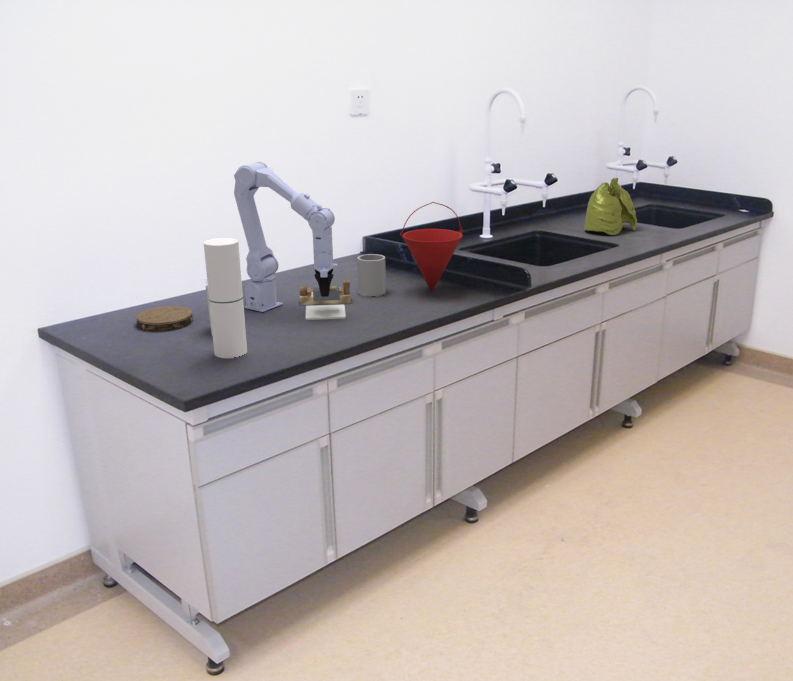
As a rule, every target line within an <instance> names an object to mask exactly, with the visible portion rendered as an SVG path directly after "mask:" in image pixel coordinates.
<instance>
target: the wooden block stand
mask: <svg viewBox="0 0 793 681" xmlns="http://www.w3.org/2000/svg"><path fill="white" fill-rule="evenodd" d="M350 284H351V282H350V279H343V280H342V286H338V287H339V290H340V300H329V301H313V291H312V287H308V286H307V285H302V286H301V285H300V286H299V289H298V290H299V291H298V292H299V306H317V305H345V304H351V303H352V301H351V288H350V287H351V285H350Z"/></svg>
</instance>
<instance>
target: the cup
mask: <svg viewBox="0 0 793 681" xmlns="http://www.w3.org/2000/svg"><path fill="white" fill-rule="evenodd" d="M356 258H357V260H356V261H357V293H359V294H360V295H359V294H358V295H359V296H363V297H367V296H369V297H370V296H376V297H381V296H384V295H385V294H386V291H387V289H386V285H387V284H386V256H385V255H382V254H378V253H377V254H374V253H368V254H362V255H361V254H360V255H358V256H357V257H356ZM383 294H384V295H383ZM380 295H381V296H380Z"/></svg>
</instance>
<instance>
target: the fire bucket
mask: <svg viewBox="0 0 793 681" xmlns="http://www.w3.org/2000/svg"><path fill="white" fill-rule="evenodd" d="M432 204H436V205H439V206H443V207H446V208H447V209H449V210H451V211H452V212H453V214H455V216H456V218H457V220H458V224H459V231H455V230H451V229H445V228H443V229H442V228H421V229H420V228H419V229H413V230H410V231H405V232H404V230H405V226H406V225H407V222H408V221H409V219H410V218H411V216H412V215H413V214H414V213H416V212H417V211H418V210H420V209H422V208H423V207H426V206H428V205H432ZM461 225H462V224H461V222H460V218H459V216H458V215H457V213H456V212H455V211H454V210H453V209H452V208H450V207H449V206H447V205H445V204H442V203H439V202H438V203H437V202H435V201H431V202H429V203H426V204H424V205H422V206H419V207H418V208H416V209H415V210H414V211H413V212H411V214H410V215H409V216H407V219H406V221H405V223H404V225H403V227H402V231H401V232H400V234H399V235H400V237H401V238H402V240H403V241H404V243H406V246H407V247H408V249H409V251H410V254H411V255H412V257H413V259H414V261H415V264H416V265H417V267H418V269H419V271H420V273H421V276H423V279H424V281H425V283H426V285H427V286H428V288H429V290H430V292H433V291H434V290H435V288H436V286H438V284H439V281H440V279H441V277H442V276H443V273H444V271H445V270H446V268H447V266H448V264H449V262H450V260H451V258H452V257H453V254H454V252H455V251H456V249H457V247H458V245H459V243H460V242H461V240H462V238H463V236H464V235H463V227H462V226H461ZM403 232H404V233H403Z"/></svg>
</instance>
